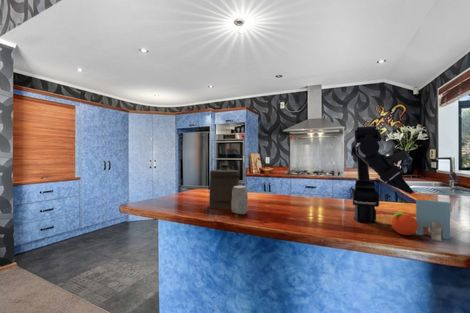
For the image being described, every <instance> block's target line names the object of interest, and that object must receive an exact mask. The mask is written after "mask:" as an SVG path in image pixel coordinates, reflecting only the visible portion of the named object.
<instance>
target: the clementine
mask: <svg viewBox="0 0 470 313" xmlns="http://www.w3.org/2000/svg"><path fill="white" fill-rule="evenodd" d="M390 221H391V222H390V224H391V227H392V229H393V230H394V231H395V232H396V233H398V234H400V235H403V236H412V235H413V234H416V231H417V228H418V224H417V221H416V217H414V216H412V215H411V214H409V213H406V212H398V213H397V212H396V213H395V214H393V215H392V216H391V217H390Z"/></svg>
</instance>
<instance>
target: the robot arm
mask: <svg viewBox="0 0 470 313" xmlns="http://www.w3.org/2000/svg"><path fill="white" fill-rule="evenodd" d="M353 136H354V140H352V142H351V147H350V156H351V157H352V160H353V162H354V163H356V170H357V179H356V180H355V184H354V189H352V200H351V202H352V206H354V216H353V217H352V218H353V219H354V221H356V222H358V223H369V224H377V223H378V222H377V209H376V208H378V207H380V197H381V194H379V191H378V190H377V188H376V184H375V181H374V180H370V179H371V178H370V172H369V168H371V169H372V170H373V171H374V172H375V173H376V174H377V175H378V176H379V179H380V180H381V181H382V182H383V183H385V184H386V185H388V186H391V187H394V188H396V189H398V190H401V191H403V192H405V193H408V194H409V195H412V194H413V193H414V190H413V189H412V188H411V187H410V186H409V184H408V183H407V181H406V180H405V179H404V177H403V174H404V172H403V170H402V168H400V167H399V166H398V165H397V164H396V163H398V162H401V161H405V160H408V159H410V156H409V154H408V153H407V151H406V149H403V150H399V149H396V150H393V151H392V154H389V155H387V156H386V155H385V154H382V153H381V152H379V150H380V142H381V141H382V138H383V137H382V134H381V131H380V129H379V128H377V126H376V125H370V126H369V125H367V126H366V125H365V126H356V129H354V134H353Z"/></svg>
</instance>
